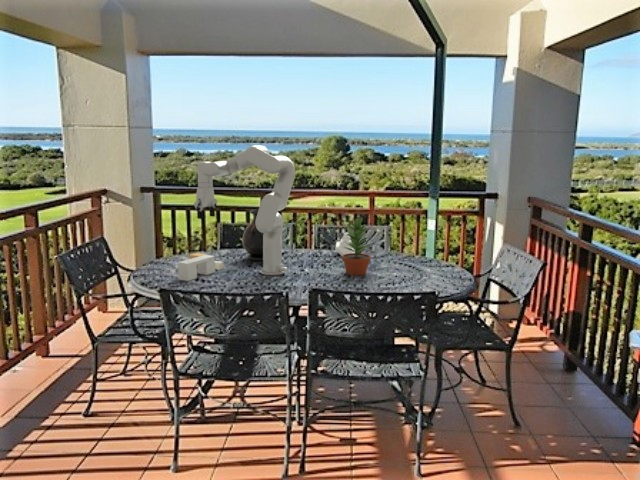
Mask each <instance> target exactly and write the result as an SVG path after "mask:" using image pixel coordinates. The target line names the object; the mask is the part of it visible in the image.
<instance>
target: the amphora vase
mask: <svg viewBox="0 0 640 480" xmlns="http://www.w3.org/2000/svg"><path fill="white" fill-rule="evenodd" d="M258 210H259V208H257V209H250V210H249V213H250V214H252V217H253V218H252V221H251V222H249V224H248V226H246V228H245V229H244V231H243V235H242V239H241V240H242V241H241V242H242V247H243V249H244V251H245V252H246V253H247V255H246V258H247V259H248V260H250V261H253V262H263V234H264V233H261V232H260V231H258V230H257V228H256V224H255V222H256V217H257V214H258Z"/></svg>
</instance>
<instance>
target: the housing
mask: <svg viewBox="0 0 640 480" xmlns="http://www.w3.org/2000/svg"><path fill="white" fill-rule="evenodd" d="M215 259H216V258H215V255H209V254H206V255H203V256H199V257H196V258H192V259H190V258H188V259H185V260H182V261H178V262H177V265H178V267H177V268H178V269H177V270H178V273H177V274H178V280H181V281H186V282H187V281H188V282H189V281H192V280H195V279H197V278H198V276H197V275H198V274H200V275H205V276H208V275H210V274H211V275H212V274H214V273H216V269H215V261H216V260H215ZM196 264H198V267H196Z"/></svg>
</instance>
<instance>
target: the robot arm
mask: <svg viewBox="0 0 640 480" xmlns="http://www.w3.org/2000/svg"><path fill="white" fill-rule="evenodd" d="M253 166H255V167H256V168H259V169H260V170H262V171H264V172H266V173H268V174H270V175H271V174H272V175H276V174H278V176H277V178H276V180H275V182H274V185H273V188H272V191H271V192H270V193H267V194H265V195H264V196H263V198H262V199H261V201H260V204H259V207H258V209H259V210H258V214H257V217H256V222H255V224H256V228H257V230H258V231H260V232H261V233H264V234H263V261H262V268H261V269H260V270H259V271H260V272H259V273H260V274H261V275H266V276H279V275H282V274H285V273H286V272H287V271H288V266H284V263H283V262H282V261H283V259H282V258H283V256H282V254H283V253H282V252H283V251H282V249H283V248H282V245H283V244H282V243H283V241H282V238H283V227H284V219H283V216H282V214H281V213H279V211H282V210H284V209H285V208H286V207H287V204H288V200H289V197H290V194H291V191H292V187H293V184H294V181H295V177H296V168H295V164H294V162H293V161H292V160H291V159H290V158H289V157H287V156H285V155H272V154H270V151H269V150H268V148H267V147H266V146H265V145H251V146H249V147H247V148H246V149H244V150H243V151H239V152H237V153H236V154H235V156H234V157H232V158H229V159H225V160H223V161H221V160H220V161H198V162H197V189H196V195H195V196H196V197H195V202H193V206H194V209H195V210H196V215H197V216H196V218H197V219H199V220H203V219H204V214H203V213H204V212H203V209H204V208H209V217H213V218H214V217H216V208H217V203H218V200H217V199H216V198H215V191H214V185H213V177H220V176H221V177H222V176H227V175H231V174H233V173H236V172H240V171H242V170H244V169H248V168H250V167H253Z"/></svg>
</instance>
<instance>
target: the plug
mask: <svg viewBox="0 0 640 480" xmlns="http://www.w3.org/2000/svg"><path fill="white" fill-rule="evenodd" d="M203 255H207V254H206V253H199V252H196V253H191V254H189V259H192V258H196V257H199V256H203ZM224 263H225V262H224V261H219V260H215V270H218V271H219V270H224V266H225V265H224ZM196 268H198V264H196Z"/></svg>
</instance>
